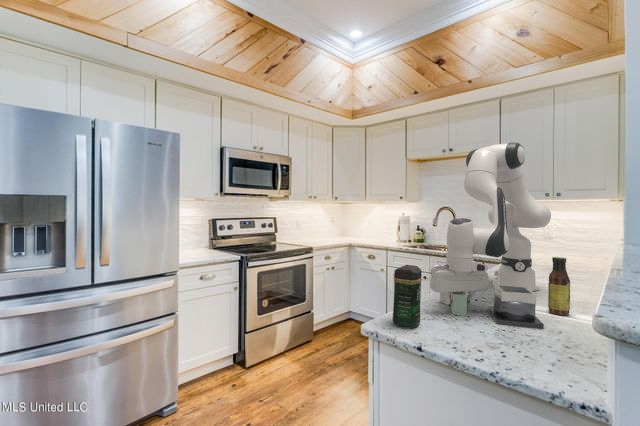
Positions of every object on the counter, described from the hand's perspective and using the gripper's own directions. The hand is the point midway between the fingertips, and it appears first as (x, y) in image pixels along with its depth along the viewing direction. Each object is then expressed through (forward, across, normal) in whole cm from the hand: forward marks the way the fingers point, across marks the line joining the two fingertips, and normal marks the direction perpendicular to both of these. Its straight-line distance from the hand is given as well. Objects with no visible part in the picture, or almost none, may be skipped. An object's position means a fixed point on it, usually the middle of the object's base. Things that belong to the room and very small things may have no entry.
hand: (458, 303), depth 115 cm
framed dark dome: (+3, +15, -8) cm, 17 cm away
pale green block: (+3, 0, 0) cm, 3 cm away
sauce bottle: (+3, +36, -3) cm, 36 cm away
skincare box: (+3, +2, +11) cm, 12 cm away
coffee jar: (+3, -22, -9) cm, 24 cm away
